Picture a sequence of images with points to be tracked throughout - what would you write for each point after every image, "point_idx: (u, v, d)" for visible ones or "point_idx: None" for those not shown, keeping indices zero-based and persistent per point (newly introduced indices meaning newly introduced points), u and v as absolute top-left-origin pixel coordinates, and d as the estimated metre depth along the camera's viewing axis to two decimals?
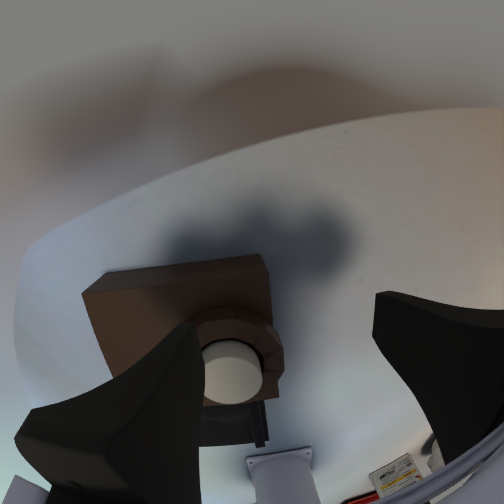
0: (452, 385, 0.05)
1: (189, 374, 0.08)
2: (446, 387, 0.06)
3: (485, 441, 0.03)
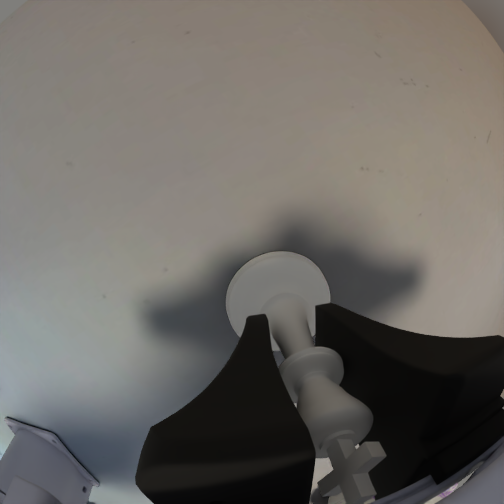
0: (377, 419, 0.05)
1: None
2: None
3: None
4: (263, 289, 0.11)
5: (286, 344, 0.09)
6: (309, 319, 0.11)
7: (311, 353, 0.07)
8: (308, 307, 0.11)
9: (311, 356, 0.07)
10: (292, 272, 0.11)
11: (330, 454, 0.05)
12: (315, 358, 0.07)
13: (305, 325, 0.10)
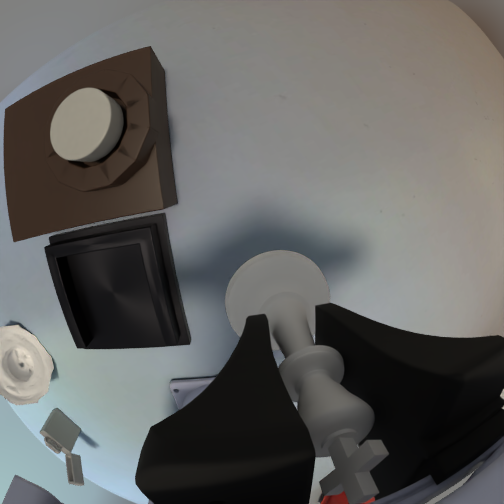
0: (377, 419, 0.05)
1: None
2: None
3: None
4: (262, 288, 0.11)
5: (286, 343, 0.09)
6: (309, 318, 0.11)
7: (311, 352, 0.07)
8: (308, 306, 0.11)
9: (312, 355, 0.07)
10: (292, 271, 0.11)
11: (332, 453, 0.04)
12: (316, 357, 0.07)
13: (305, 324, 0.09)
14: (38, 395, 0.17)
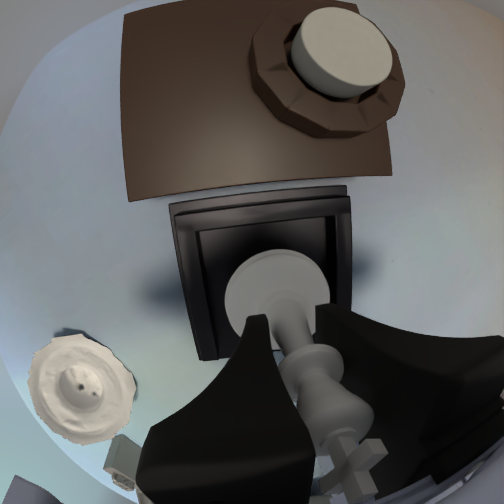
0: (377, 419, 0.05)
1: None
2: None
3: None
4: (262, 287, 0.11)
5: (286, 342, 0.09)
6: (308, 317, 0.11)
7: (311, 351, 0.07)
8: (307, 305, 0.11)
9: (311, 353, 0.07)
10: (292, 270, 0.11)
11: (331, 452, 0.04)
12: (315, 355, 0.07)
13: (305, 323, 0.09)
14: (114, 427, 0.15)
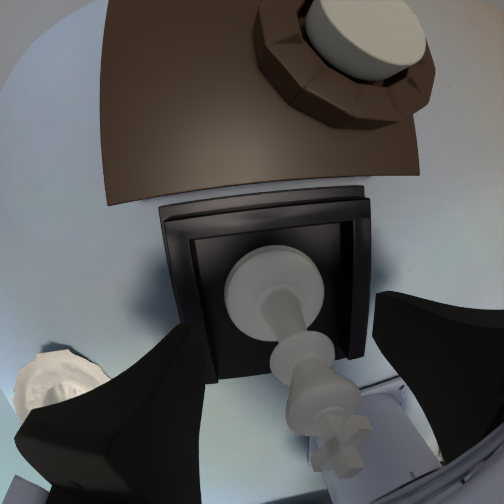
0: (452, 385, 0.05)
1: (189, 374, 0.08)
2: (446, 387, 0.06)
3: (485, 441, 0.03)
4: (259, 280, 0.12)
5: (281, 330, 0.09)
6: (303, 309, 0.12)
7: (303, 337, 0.08)
8: (302, 298, 0.12)
9: (303, 339, 0.08)
10: (287, 265, 0.12)
11: (321, 430, 0.05)
12: (307, 341, 0.08)
13: (299, 313, 0.10)
14: None
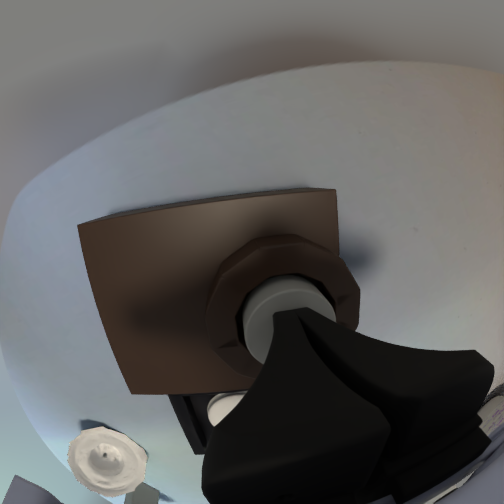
0: None
1: None
2: None
3: None
4: (227, 411, 0.17)
5: None
6: None
7: None
8: None
9: None
10: None
11: None
12: None
13: None
14: (133, 484, 0.17)
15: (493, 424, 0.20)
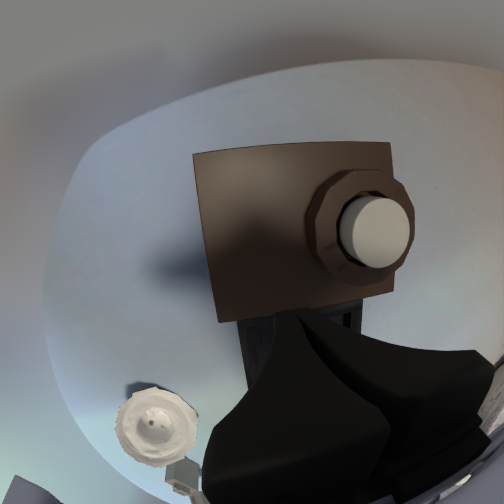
0: None
1: None
2: None
3: None
4: None
5: None
6: None
7: None
8: None
9: None
10: None
11: None
12: None
13: None
14: (183, 450, 0.20)
15: None
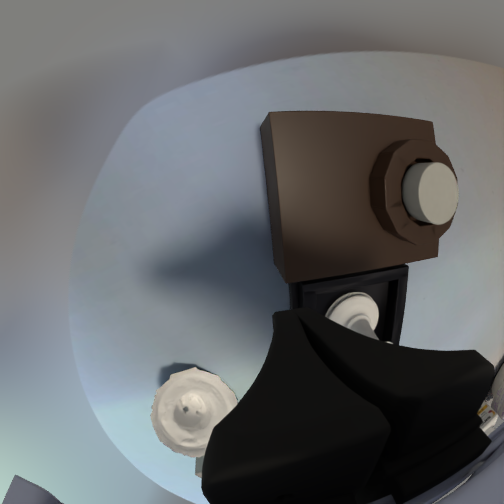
0: None
1: None
2: None
3: None
4: (348, 314, 0.20)
5: None
6: None
7: None
8: (370, 322, 0.19)
9: None
10: (363, 304, 0.20)
11: None
12: None
13: (373, 332, 0.18)
14: None
15: None
